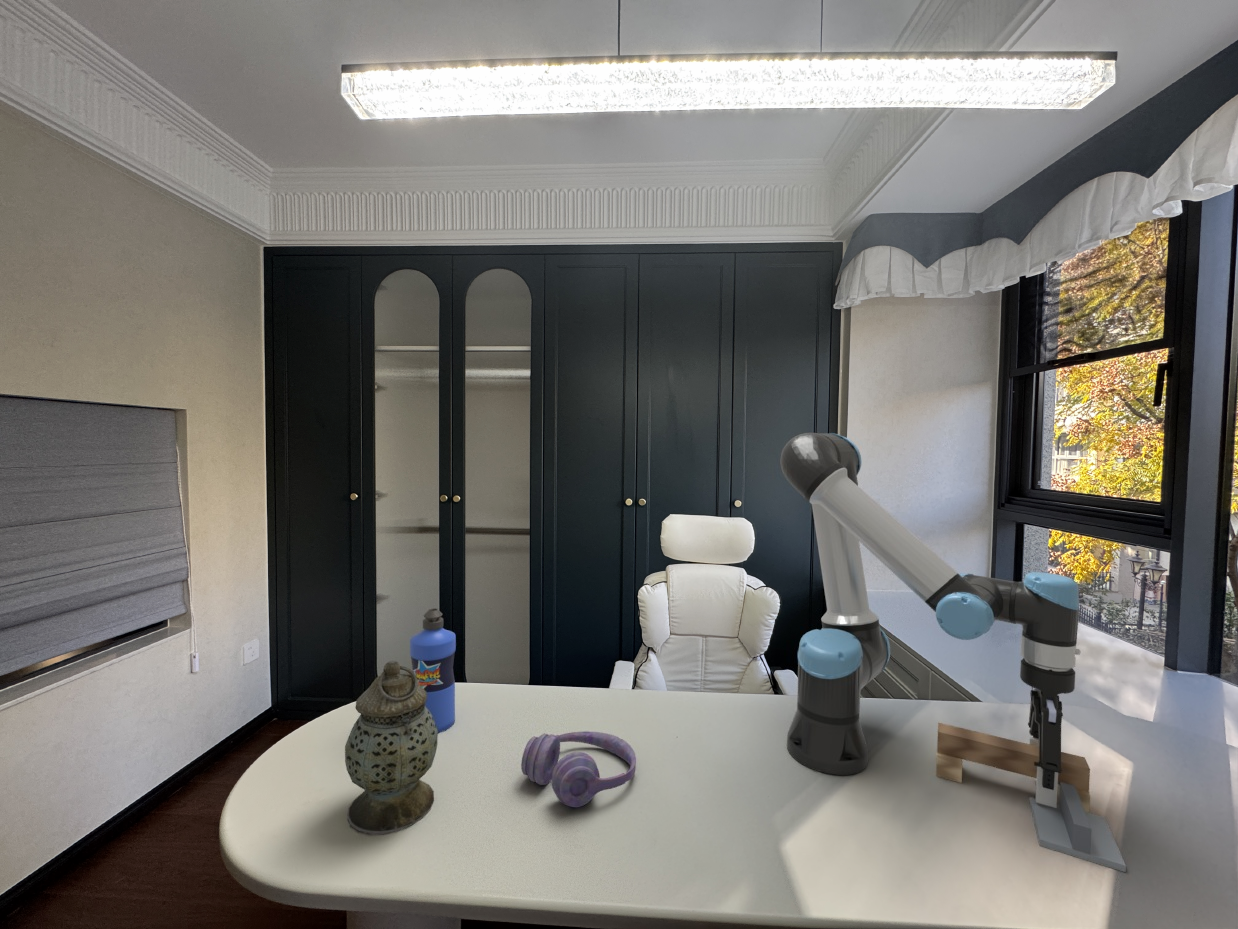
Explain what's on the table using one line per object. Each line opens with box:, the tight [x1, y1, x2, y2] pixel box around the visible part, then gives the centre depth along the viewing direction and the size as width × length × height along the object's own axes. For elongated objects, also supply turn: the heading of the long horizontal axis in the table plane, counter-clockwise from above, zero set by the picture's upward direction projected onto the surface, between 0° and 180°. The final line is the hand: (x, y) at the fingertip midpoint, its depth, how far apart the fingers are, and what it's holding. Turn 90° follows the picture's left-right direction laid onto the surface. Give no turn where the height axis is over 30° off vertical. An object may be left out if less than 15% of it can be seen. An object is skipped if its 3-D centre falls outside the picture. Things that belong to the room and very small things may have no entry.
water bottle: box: [409, 608, 457, 734], centre depth 118 cm, size 9×9×25 cm
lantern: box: [344, 660, 439, 836], centre depth 91 cm, size 14×14×25 cm
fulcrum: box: [1028, 782, 1127, 873], centre depth 87 cm, size 10×12×5 cm
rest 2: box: [1057, 784, 1091, 813], centre depth 94 cm, size 4×6×4 cm, turn 149°
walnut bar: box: [936, 722, 1091, 793], centre depth 99 cm, size 22×4×4 cm, turn 59°
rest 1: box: [935, 752, 963, 784], centre depth 104 cm, size 4×6×4 cm, turn 149°
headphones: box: [520, 731, 637, 808], centre depth 101 cm, size 18×8×20 cm
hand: (1041, 788), depth 96 cm, fingers open, 9 cm apart
